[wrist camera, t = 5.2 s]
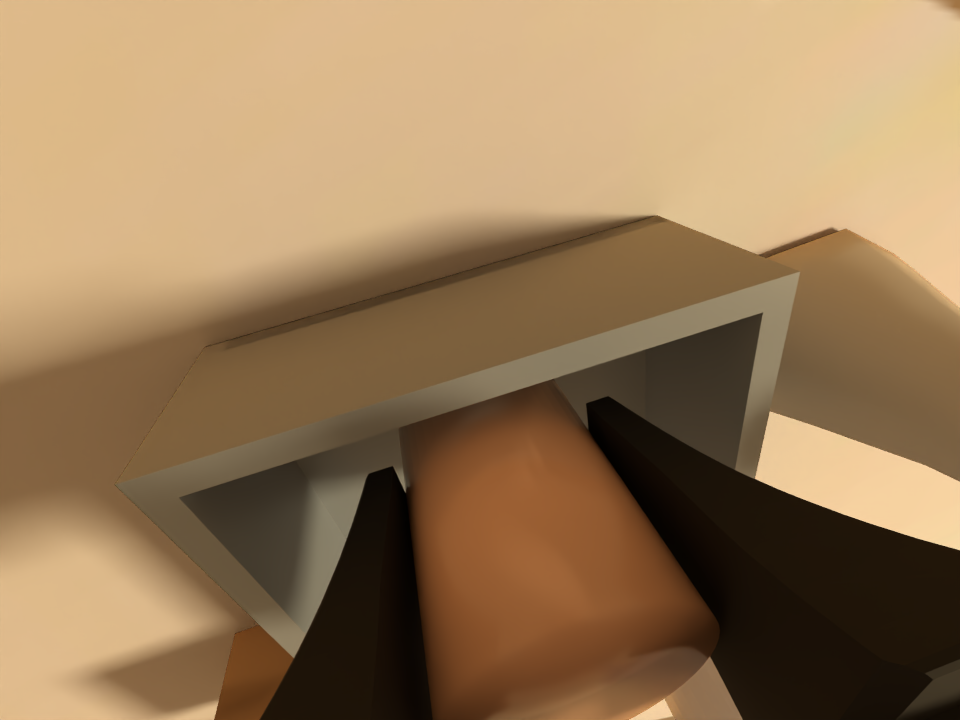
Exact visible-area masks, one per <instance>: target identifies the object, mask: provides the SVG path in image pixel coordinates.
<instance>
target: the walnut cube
mask: <svg viewBox="0 0 960 720" xmlns="http://www.w3.org/2000/svg"><path fill="white" fill-rule="evenodd" d="M293 659H294V658H293V657H292V656H291V655H290V654H289V653H288V652H287V651H286V650H285V649H284V648H283V647H282V646H281V645H280V644H279V643H278V642H277V641H276V640H275V639H273V638H272V637H271V636H270V635H269V634H268V633H267V632H266V631H265V630H264V629H263V628H262V627H261V626H260V625H259V626H256V627H253V628H250V629H247V630H244V631H241V632H238V633H235V636H234V641H233V645H232V649H231V653H230V657H229V661H228V665H227V669H226V674H225V678H224V682H223V686H222V690H221V694H220V698H219V702H218V706H217V711H216V715H215V719H214V720H259V719H260V718H261V716H262V714H263V713H264V711H265V709H266V707H267V706H268V704H269V702H270V700H271V699H272V697H273V695H274V693H275V692H276V690H277V688H278V686H279V684H280V683H281V681H282V679H283V677H284V675H285V673H286V672H287V670H288V668H289V666H290V664H291V662H292V661H293Z"/></svg>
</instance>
